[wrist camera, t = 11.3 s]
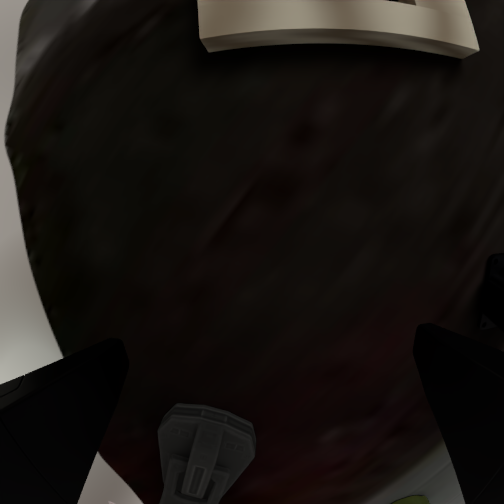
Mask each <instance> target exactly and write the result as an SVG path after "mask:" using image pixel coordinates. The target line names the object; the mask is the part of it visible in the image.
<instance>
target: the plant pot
mask: <svg viewBox="0 0 504 504" xmlns="http://www.w3.org/2000/svg"><path fill="white" fill-rule="evenodd" d="M392 504H430V503H429V501H428V499H427V497H426V496H418V495H415V496H410V497H407V498H404V499H400V500H398V501H395V502H394V503H392Z"/></svg>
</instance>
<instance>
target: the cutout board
mask: <svg viewBox="0 0 504 504" xmlns="http://www.w3.org/2000/svg"><path fill="white" fill-rule="evenodd" d="M198 17H199V34H200V40H201V42H202V43H203V45H204V46H205V48H206V49H207V51H208V52H215V51H222V50H229V49H237V48H245V47H255V46H266V45H280V44H304V43H338V44H361V45H375V46H386V47H396V48H404V49H411V50H418V51H425V52H430V53H436V54H441V55H446V56H451V57H456V58H460V59H463V58H465V57H467V56H469V55H471V54H473V53H475V52H477V51H480V50H479V46H478V43H477V39H476V35H475V32H474V28H473V25H472V22H471V18H470V15H469V12H468V9H467V6H466V3H465V1H464V0H398V2H393V1H386V0H198Z"/></svg>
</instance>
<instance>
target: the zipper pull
mask: <svg viewBox="0 0 504 504" xmlns="http://www.w3.org/2000/svg"><path fill="white" fill-rule="evenodd" d="M157 432H158V441H159V449H160V458H161V467H162V476H163V483H164V484H165V485H164V490H163V494H162V497H161V500H160V503H159V504H219V501H220V499H221V498H222V496H223V495H224V494H225V493H226V492H227V490H228V489H229V488H230V487H231V486H232V484H233V483H234V482H235V481H236V480H237V478H238V477H239V476H240V475H241V473H242V472H243V471H244V470H245V468H246V467H247V466H248V465H249V463H250V462H251V461H252V460H253V459H254V457H255V450H256V437H255V432H254V428H253V424H252V423H251V422H249V421H247V420H245V419H243V418H241V417H239V416H237V415H235V414H232V413H230V412H229V411H225V410H221V409H217V408H214V407H210V406H206V405H196V404H182V403H177V404H175V405H174V406H173V407H172V408H171V409H170V410H169V411H168V412H167V413H166V414H165V415H164V417H163V419H162V421H161V424H160V426H159V428H158V431H157ZM178 491H179V492H178ZM180 492H181V493H182V494H181V493H180ZM183 494H185V495H183ZM187 495H189V496H187ZM191 496H193V497H191ZM194 497H196V498H194ZM198 498H200V499H198ZM202 498H206V499H202Z"/></svg>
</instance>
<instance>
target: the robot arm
mask: <svg viewBox="0 0 504 504" xmlns="http://www.w3.org/2000/svg"><path fill="white" fill-rule="evenodd" d="M494 260H495V262H494ZM483 323H484V324H483ZM482 324H483V325H482ZM477 326H478V328H479V329H480V330H486V329H490V328H494V327H498V328H499V329H500V330H501V331H503V332H504V253H499V254H493V255H491V256H490V258H489V263H488V271H487V277H486V284H485V290H484V295H483V301H482V306H481V311H480V315H479V320H478V325H477ZM413 355H414V359H415V362H416V365H417V368H418V371H419V374H420V378H421V381H422V384H423V388H424V391H425V394H426V397H427V399H428V402H429V404H430V406H431V409H432V411H433V414H434V416H435V418H436V421H437V423H438V426H439V429H440V431H441V434H442V436H443V439H444V442H445V444H446V447H447V450H448V452H449V455H450V458H451V461H452V464H453V466H454V469H455V472H456V475H457V478H458V481H459V484H460V487H461V491H462V494H463V497H464V500H465V504H504V352H503V351H500V350H498V349H495V348H493V347H490V346H488V345H485V344H483V343H480V342H477V341H475V340H472V339H470V338H467V337H465V336H462V335H460V334H457V333H455V332H452V331H450V330H447V329H445V328H442V327H440V326H437V325H434V324H432V323H426V324H420V325H418V327H417V329H416V335H415V340H414V346H413ZM128 369H129V359H128V356H127V353H126V350H125V347H124V344H123V342H122V340H120V339H115V338H109V339H106V340H104V341H102V342H100V343H97V344H95V345H93V346H90V347H88V348H86V349H84V350H81V351H79V352H77V353H74V354H72V355H70V356H67V357H65V358H63V359H60V360H58V361H56V362H54V363H51V364H49V365H47V366H44V367H42V368H39V369H37V370H35V371H32V372H30V373H28V374H25V376H24V375H23V376H21V377H18V378H16V379H13V380H10V381H8V382H6V383H3V384H0V504H77V503H78V500H79V498H80V495H81V492H82V490H83V487H84V484H85V481H86V479H87V476H88V474H89V471H90V469H91V466H92V463H93V461H94V458H95V456H96V454H97V451H98V449H99V446H100V444H101V441H102V439H103V437H104V434H105V432H106V429H107V427H108V425H109V422H110V420H111V418H112V415H113V413H114V411H115V408H116V406H117V403H118V400H119V397H120V394H121V391H122V387H123V384H124V381H125V378H126V375H127V372H128Z"/></svg>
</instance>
